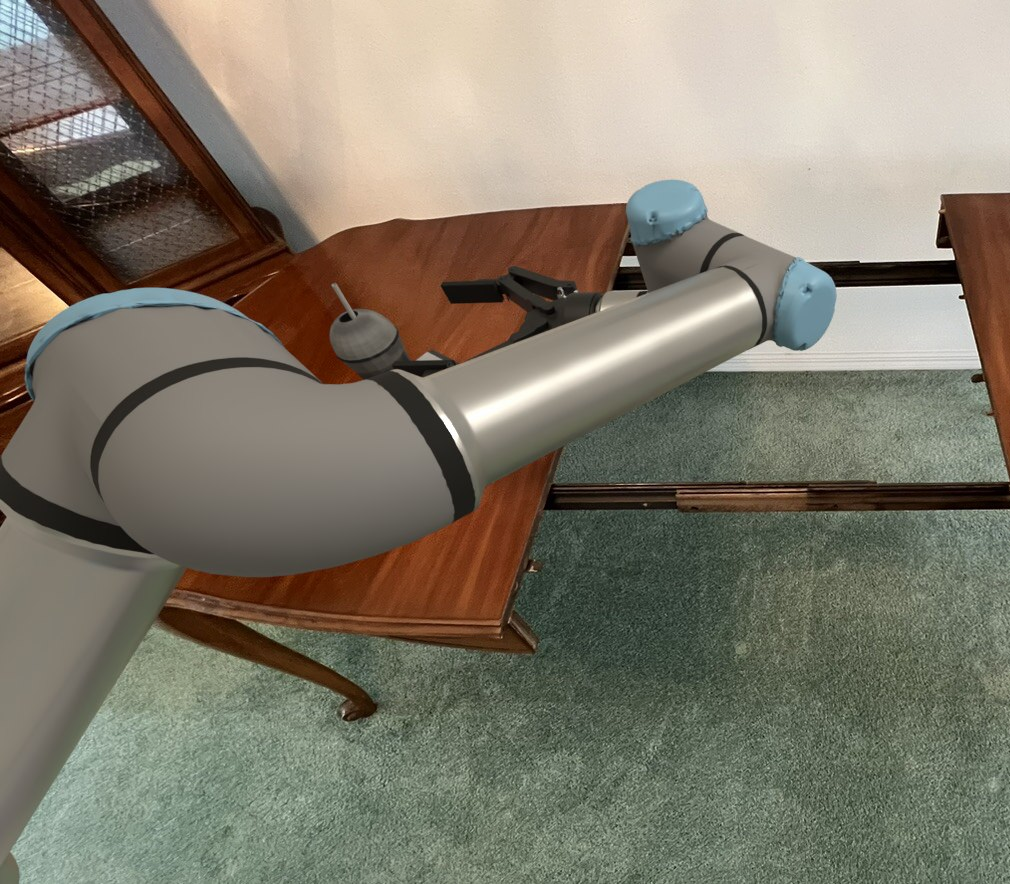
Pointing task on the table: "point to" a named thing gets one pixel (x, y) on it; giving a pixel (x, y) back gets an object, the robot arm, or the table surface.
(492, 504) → the table surface
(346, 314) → the beverage cup
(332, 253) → the table surface
